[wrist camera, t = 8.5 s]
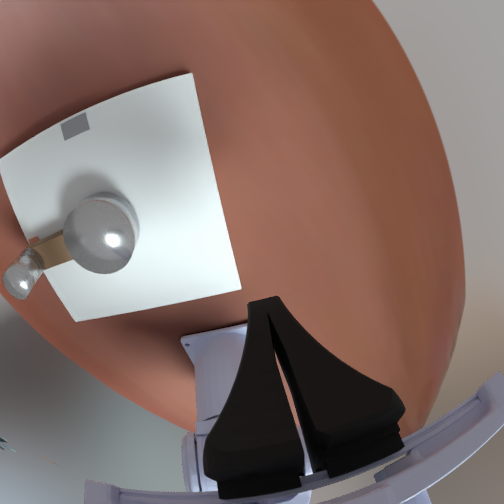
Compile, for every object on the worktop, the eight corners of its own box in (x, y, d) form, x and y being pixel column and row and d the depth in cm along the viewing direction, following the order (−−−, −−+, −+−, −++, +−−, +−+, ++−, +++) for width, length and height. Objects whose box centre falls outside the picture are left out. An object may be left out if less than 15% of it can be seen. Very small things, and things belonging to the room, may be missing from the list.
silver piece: (123, 181, 15) (101, 206, 12) (150, 247, 18) (140, 285, 14) (16, 231, 15) (-11, 260, 11) (45, 281, 18) (25, 315, 14)
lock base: (239, 279, 22) (241, 289, 21) (79, 313, 22) (75, 322, 21) (192, 74, 14) (191, 72, 13) (5, 157, 13) (-4, 161, 12)
